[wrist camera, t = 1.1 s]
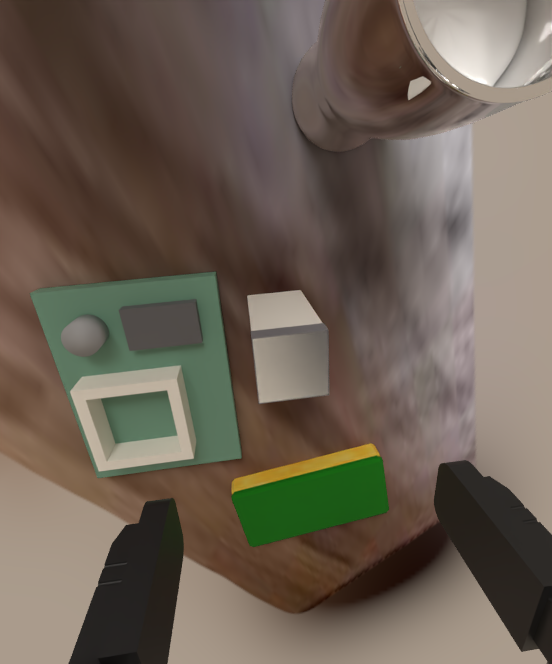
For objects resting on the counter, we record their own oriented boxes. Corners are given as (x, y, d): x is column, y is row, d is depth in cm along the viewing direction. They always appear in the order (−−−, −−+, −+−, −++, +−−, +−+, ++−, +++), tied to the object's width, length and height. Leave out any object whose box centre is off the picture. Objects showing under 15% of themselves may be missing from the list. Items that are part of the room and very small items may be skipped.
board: (39, 288, 23) (11, 302, 20) (216, 271, 24) (213, 282, 21) (102, 467, 30) (88, 498, 27) (241, 448, 30) (242, 476, 28)
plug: (246, 294, 25) (251, 338, 18) (301, 289, 25) (328, 329, 18) (251, 345, 27) (258, 404, 19) (303, 339, 27) (329, 395, 20)
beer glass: (389, 158, 23) (627, 111, 9) (285, 161, 22) (370, 114, 8) (400, 25, 20) (769, -338, 6) (282, 24, 19) (402, -383, 6)
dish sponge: (230, 475, 32) (230, 497, 30) (372, 439, 32) (382, 457, 30) (249, 526, 35) (250, 549, 33) (380, 492, 35) (389, 513, 33)
